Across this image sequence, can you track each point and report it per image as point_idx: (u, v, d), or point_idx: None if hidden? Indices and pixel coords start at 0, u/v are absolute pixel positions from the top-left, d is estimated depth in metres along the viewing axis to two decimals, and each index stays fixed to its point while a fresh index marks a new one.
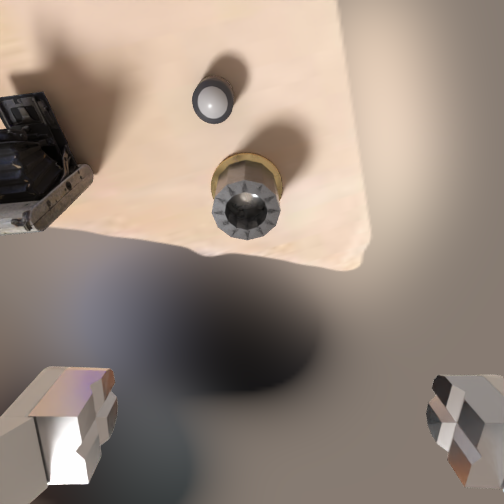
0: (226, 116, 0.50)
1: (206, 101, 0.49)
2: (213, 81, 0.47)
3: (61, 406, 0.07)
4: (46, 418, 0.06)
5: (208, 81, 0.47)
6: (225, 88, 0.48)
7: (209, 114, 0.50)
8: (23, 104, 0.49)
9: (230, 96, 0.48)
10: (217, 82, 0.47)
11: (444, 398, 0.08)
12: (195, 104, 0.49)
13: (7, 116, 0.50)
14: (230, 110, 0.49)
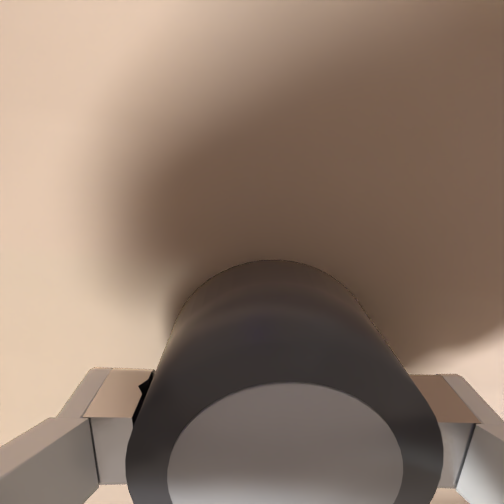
0: None
1: (240, 457, 0.06)
2: (363, 362, 0.06)
3: (114, 407, 0.07)
4: (101, 419, 0.06)
5: (322, 349, 0.05)
6: (425, 427, 0.06)
7: None
8: None
9: (431, 478, 0.06)
10: (390, 377, 0.06)
11: None
12: (150, 457, 0.06)
13: None
14: None
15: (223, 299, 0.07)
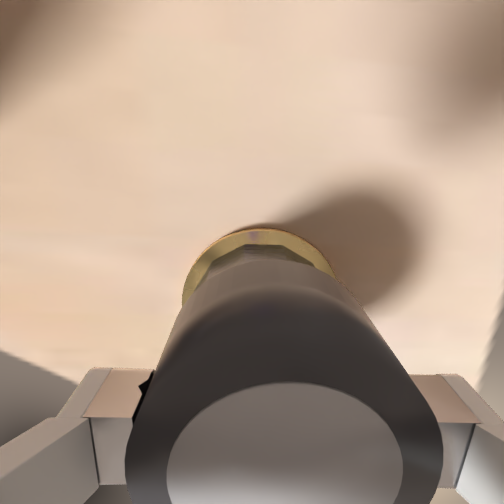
0: None
1: (239, 456, 0.06)
2: (363, 362, 0.05)
3: (114, 407, 0.07)
4: (101, 419, 0.06)
5: (322, 349, 0.05)
6: (424, 426, 0.06)
7: None
8: None
9: (431, 478, 0.06)
10: (390, 377, 0.06)
11: None
12: (150, 456, 0.06)
13: None
14: None
15: (223, 299, 0.07)
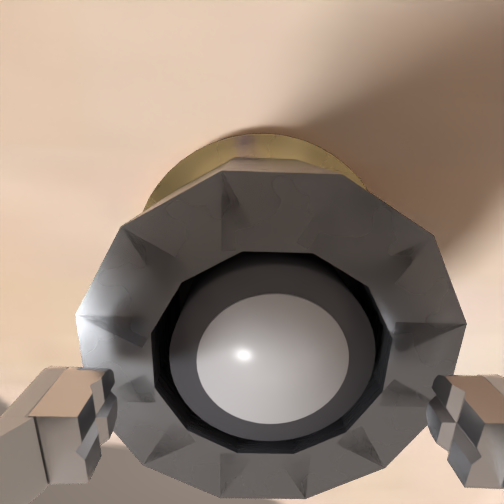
0: (309, 427, 0.10)
1: (243, 346, 0.10)
2: (320, 280, 0.09)
3: (61, 406, 0.07)
4: (46, 418, 0.06)
5: (295, 271, 0.09)
6: (361, 325, 0.09)
7: (234, 400, 0.10)
8: None
9: (368, 362, 0.10)
10: (337, 290, 0.09)
11: (444, 398, 0.08)
12: (186, 346, 0.09)
13: None
14: (338, 411, 0.10)
15: None
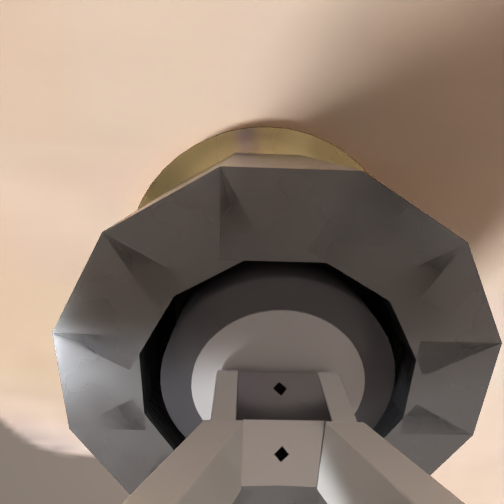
0: None
1: (244, 368, 0.08)
2: (333, 294, 0.08)
3: (261, 409, 0.07)
4: (252, 421, 0.07)
5: (304, 285, 0.08)
6: (380, 345, 0.08)
7: None
8: None
9: (386, 387, 0.09)
10: (353, 306, 0.08)
11: None
12: (179, 368, 0.08)
13: None
14: None
15: None
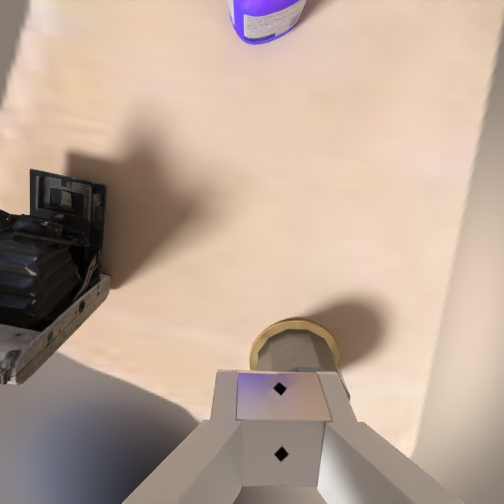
0: None
1: None
2: None
3: (261, 409, 0.07)
4: (252, 421, 0.07)
5: None
6: None
7: None
8: (71, 189, 0.37)
9: None
10: None
11: None
12: None
13: (42, 194, 0.37)
14: None
15: None
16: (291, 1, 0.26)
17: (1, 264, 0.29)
